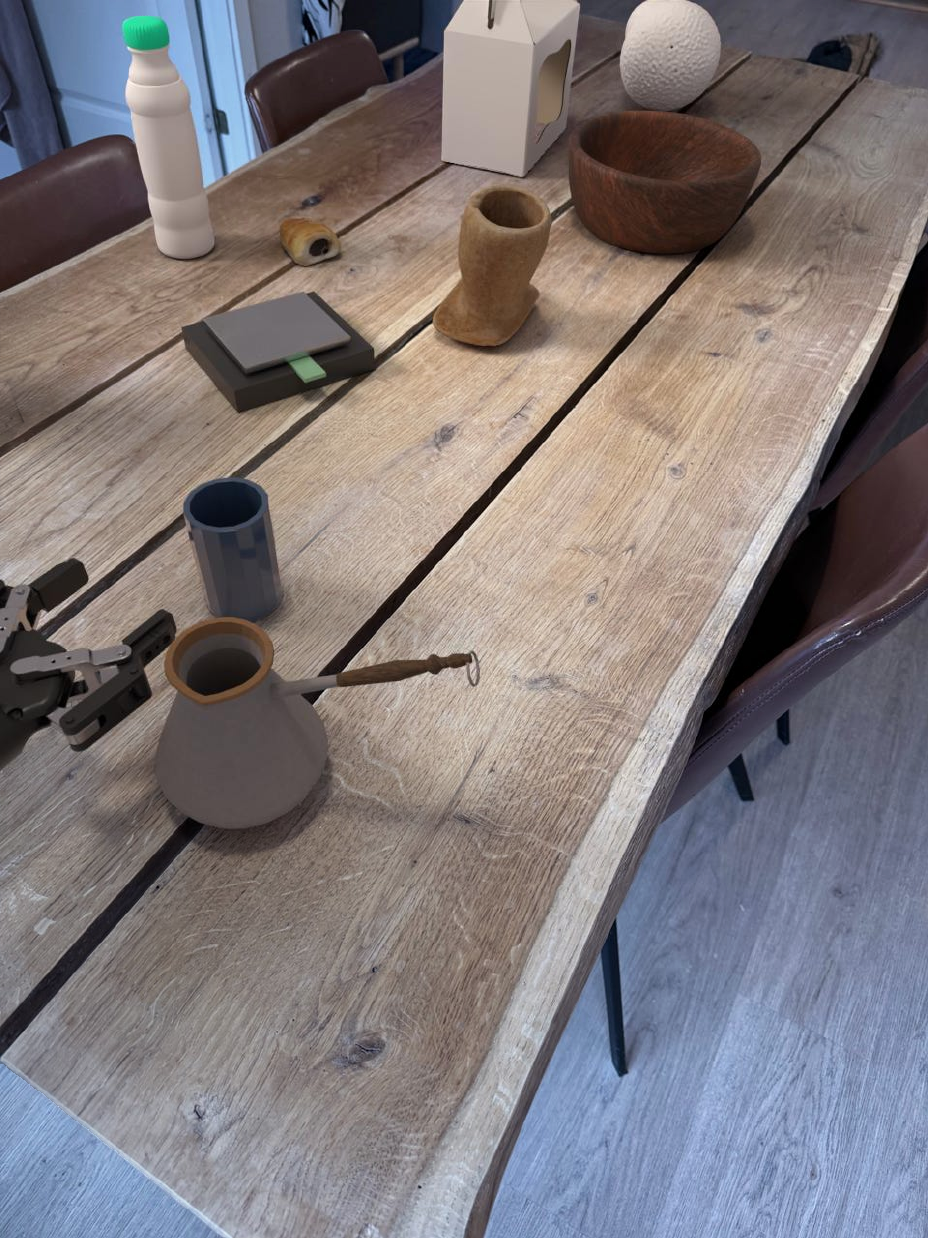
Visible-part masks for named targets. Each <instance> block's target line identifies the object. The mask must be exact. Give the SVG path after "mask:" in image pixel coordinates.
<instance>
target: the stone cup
mask: <svg viewBox="0 0 928 1238" xmlns="http://www.w3.org/2000/svg"><path fill="white" fill-rule="evenodd" d="M552 220H553V219H552V213H551V211H550V208H549V206H548V205H547V203H546V202H545V201H544V200H543V198H541V197H540V196H538V195H537V194H536V193H534V192H533V191H531V190H529V189H527V188H524V187H523V186H519V185H515V184H508V183H503V184H502V183H501V184H489V185H486V186H484V187H482V188H480V189H479V190H477V191H476V192H474V194H472V196H471V197H470V199H469V200H468V202H467V204H466V206H465V208H464V211H463V214H462V218H461V223H460V230H459V235H458V247H457V248H458V249H457V255H458V256H457V259H458V266H459V269H460V275H461V278H460V279H459V281H458V282H457V283H456V285H455V286H454V287H453V288H452V289H451V290H450V292H448V294H447V295H446V296H445V298H443V300H442V301H441V303H440V304H439V305H438V307H437V309H436V310H435V312H434V314H433V318H432V325H433V327H434V329H435V330H436V331H437V332H438V333H440V334H442V335H443V336H445V337H447V338H450V339H452V340H455V341H458V342H461V343H464V344H470V345H474V346H483V347H485V346H491V347H496V346H500V345H503V344H505V343H506V342H507V341H509V340H510V339H511V338H512V337H513V336H514V335H515V334H516V333H517V332H518V331H519V330H520V328H521V327H522V325H523V323H524V322H525V320H526V319H527V317H528V315H529V314H530V312H531V311H532V309H533V307H534V306H535V304H536V302H537V301H538V299H539V297H540V291H539V290H538V288H537V287H536V286H535V285H534V284H532V283H530V282H531V280H532V278H533V276H534V275H535V273H536V271H537V270H538V267H539V265H540V263H541V261H542V259H543V257H544V256H545V253H546V250H547V248H548V244H549V240H550V233H551V230H552V223H553V221H552Z"/></svg>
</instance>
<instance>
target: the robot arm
mask: <svg viewBox="0 0 928 1238" xmlns="http://www.w3.org/2000/svg"><path fill="white" fill-rule="evenodd" d="M87 571H88V570H87V569H86V566H85V564H84V562H82V561H80V559H77V558H75V557H71V558H69V559H68V560H66V561H62V562H60V563H57V564H55V565H54V566H52V567H51V568H50V569H48V570H47V571H46V572H44V573H43V574H41V575H40V576H39V577H37V578H36V579H34V580H33V581H31V582H30V583H28V584H22V583H21V584H17V585H15V586H11V585H7V584H6V583H5V582H4V580H3V579H2V578H1V579H0V772H1V771H2V770H4V768H6V766H8V765H9V764H10V763H11V762H13V761H14V760H15V759H16V758H18V757H19V756H20V755H21V754H22V753H23V751H24V749H25V746H26V745H27V743H28V741H29V740H30V738H31V737H32V736H33V735H34V734H36V733H38V732H40V731H42V730H44V729H47V728H51V727H52V728H53V729H55V730H56V731H57V732H59V733H60V734H61V735H62V736H63V737H65V739H66V741H67V743H68V745H69V747H70V749H71V750H72V751H73V752H77V753H81V752H84V751H86V750H88V749H89V748H90V747H91V746H93V745H94V744H95V743H96V742H98V741H99V740H100V739H102V737H104V736H105V735H106V734H108V733H109V732H111V730H112V729H114V728H115V727H116V726H118V725H119V724H120V723H121V722H123V721H124V720H125V719H127V718H128V717H129V716H130V715H131V714H132V713H134V712H135V711H137V709H139V708H140V707H141V706H143V705H144V704H145V703H147V702H148V701H149V700H150V699H151V698H152V696H153V690H152V687H151V684H150V682H149V678H148V677H147V673H146V669H145V668H146V666H148V665H149V664H151V662H152V661H154V660H155V659H156V658H157V657H158V656H159V655H161V654H162V653H163V652H164V651H166V649H169V647H170V645H171V644H172V642H173V641H174V640H175V639H176V638H177V636H176V633H177V631H178V629H177V625H176V621H175V618H174V614H172V613H171V612H169V611H168V610H166V609H164V608H160V609H159V610H157V611H156V612H155V613H154V614H153V615H151V616H150V617H149V618H147V619H146V620H145V621H144V622H142V623H141V624H139V626H137V627H136V628H135V629H134V630H133V631H132V632H130V633H129V634H128V635H126V636H125V637H124V638H123V639H122V640H121V644H118V645H115V646H109V647H106V648H102V649H97V650H91V649H90V648H88V647H79V648H76V649H72V650H68V651H67V648H65V647H64V646H62V645H60V644H59V643H56V642H52V641H49V640H47V639H46V638H45V636H44V635H43V634H42V633H41V632H40V631H38V630H37V628H38V624H39V621H40V618H41V615H42V612H41V611H42V610H43V611H44V612H46V613H48V614H49V613H50V612H51V611H53V610H54V609H56V608H57V607H58V606H59V605H61V604H62V603H63V602H65V601H67V600H68V599H69V598H70V597H72V596H73V595H75V594H76V593H77V592H78V591H80V590H81V589H82V588H84V587H85V586H86V585H87V584H88V583H89V579H90V577H89V574H88V572H87ZM110 667H112V668H110ZM106 668H107V669H106ZM101 669H102V670H101ZM76 671H78V672H80V673H81V675H82V676H83V678H84V679H81V680H77V681H75V679H76ZM68 704H70V706H68ZM67 706H68V707H67Z"/></svg>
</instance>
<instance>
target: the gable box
mask: <svg viewBox="0 0 928 1238" xmlns="http://www.w3.org/2000/svg"><path fill="white" fill-rule="evenodd" d="M580 10H581V4H580V3H579V1H578V0H462V2H461V4H460V6H459V7H458V9H457V10H456V12H455V13H454V15H453V17H452V18H451V20H450V21H449V23H448V24H447V26H446V27H445V28H444V29H443V30H444V31H443V66H442V67H443V69H442V70H443V71H442V74H443V75H442V115H441V116H442V117H441V118H442V119H441V122H442V123H441V157H440V159H441V161H442V162H443V161H446V162H450V163H455V164H456V163H457V164H464V165H471V166H477V167H485V168H488V169H493V170H498V171H502V172H506V173H510V174H514V175H519V176H522V177H523V176H524V177H526V176H527V174H528V173H529V172H530V171H531V169H532V168H534V166H535V165H536V164H537V163H538V161H539V160H541V158H542V157H543V156H544V155H545V154H546V152H547V151H548V150H549V149H550V148H551V147H552V145H553V144H554V143H555V142H556V141H557V139H558V138H559V137H560V136H561V135H562V134H563V132H564V131H565V130H566V129H567V122H568V113H569V104H570V98H571V97H570V96H571V87H572V79H573V72H574V62H575V55H576V54H575V53H576V46H577V45H576V44H577V37H578V29H579V19H580ZM536 122H538V123H544V124H547V125H546V126H545V128H544V129H543V131H542V133H541V135H540V136H539V137H538V136H537V135H536V136H537V138H539V139H538V141H537V142H536V143H535V141H534V138H535V128H536ZM565 128H566V129H565ZM564 129H565V130H564ZM563 130H564V131H563ZM561 133H562V134H561ZM560 134H561V135H560ZM559 135H560V136H559ZM558 136H559V137H558ZM555 140H556V141H555ZM554 141H555V142H554ZM553 142H554V143H553ZM552 143H553V144H552ZM551 144H552V145H551ZM548 148H549V149H548ZM547 149H548V150H547ZM546 150H547V151H546ZM545 151H546V152H545ZM542 155H543V156H542ZM541 156H542V157H541ZM540 157H541V158H540ZM450 163H449V164H450ZM535 163H536V164H535ZM455 164H454V165H455ZM534 164H535V165H534ZM529 170H530V171H529ZM528 171H529V172H528ZM524 177H523V178H524Z"/></svg>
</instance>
